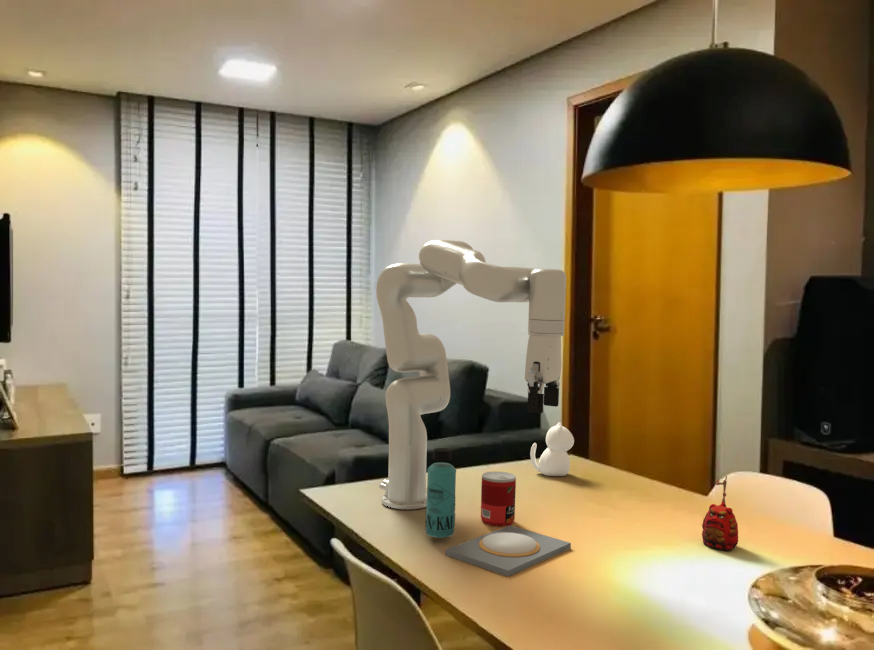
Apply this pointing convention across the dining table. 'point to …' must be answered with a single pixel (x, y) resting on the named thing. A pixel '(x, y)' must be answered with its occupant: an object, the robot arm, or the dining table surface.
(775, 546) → the dining table surface
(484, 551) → the board
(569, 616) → the dining table surface
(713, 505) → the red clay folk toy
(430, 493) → the beverage bottle
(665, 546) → the dining table surface
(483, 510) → the canned food
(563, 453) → the cat figurine
